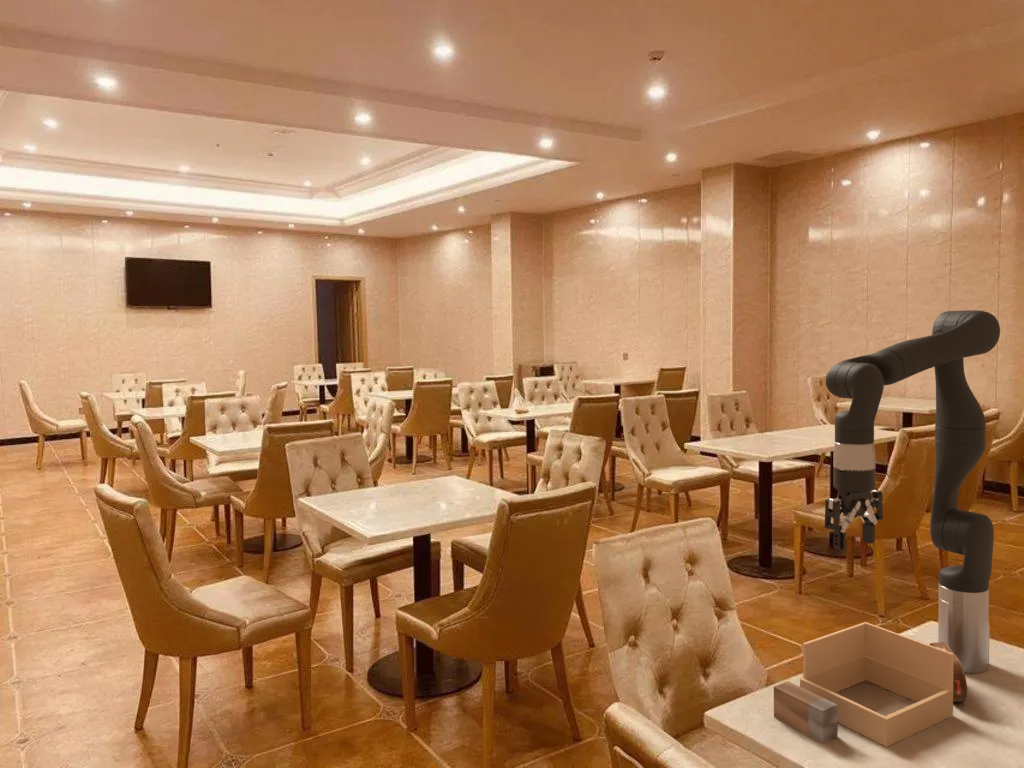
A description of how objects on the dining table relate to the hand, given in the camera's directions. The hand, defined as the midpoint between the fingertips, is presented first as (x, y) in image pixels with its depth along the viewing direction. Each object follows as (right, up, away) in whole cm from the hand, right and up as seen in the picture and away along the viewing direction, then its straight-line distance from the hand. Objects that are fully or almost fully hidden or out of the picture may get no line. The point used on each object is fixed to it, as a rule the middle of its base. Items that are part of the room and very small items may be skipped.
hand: (854, 546), depth 153 cm
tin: (+19, -30, +3) cm, 36 cm away
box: (-13, -32, -9) cm, 35 cm away
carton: (+2, -30, -4) cm, 31 cm away
